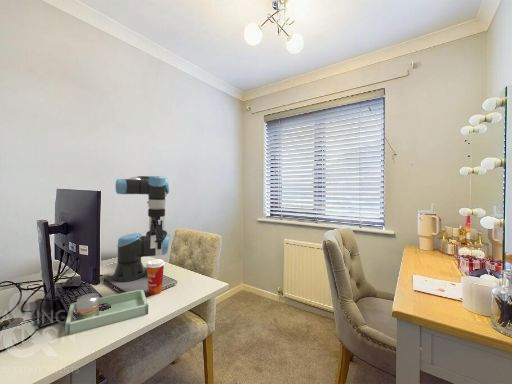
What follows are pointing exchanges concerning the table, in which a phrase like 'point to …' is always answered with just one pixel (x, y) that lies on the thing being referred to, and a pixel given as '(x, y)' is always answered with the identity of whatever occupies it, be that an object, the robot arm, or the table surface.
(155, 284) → the coffee cup
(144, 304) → the tray
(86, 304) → the translucent rounded dome
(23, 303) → the table surface
